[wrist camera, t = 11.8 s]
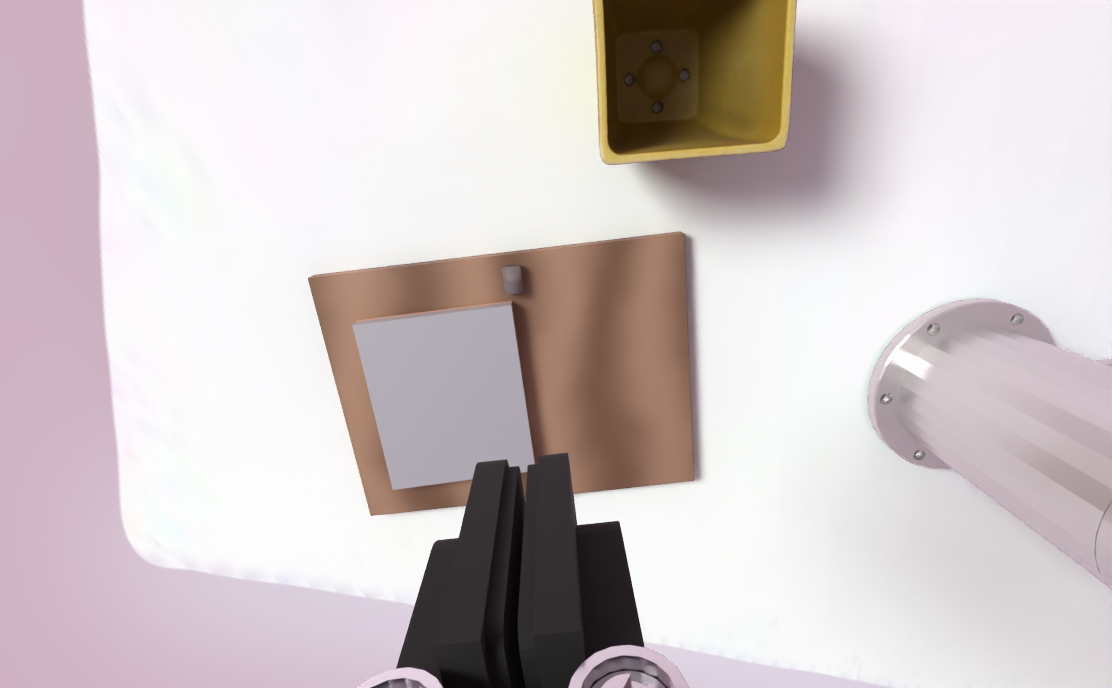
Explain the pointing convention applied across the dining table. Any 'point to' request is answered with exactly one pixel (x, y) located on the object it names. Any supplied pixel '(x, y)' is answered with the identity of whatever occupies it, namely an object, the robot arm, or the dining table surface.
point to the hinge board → (543, 356)
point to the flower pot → (693, 77)
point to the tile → (446, 392)
